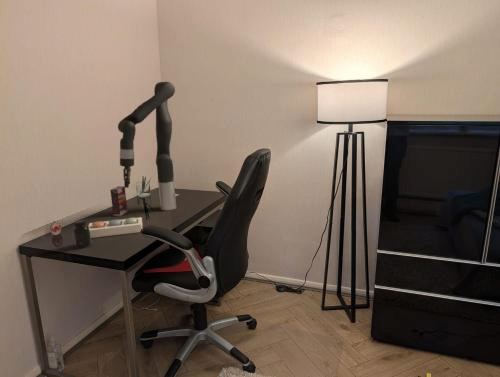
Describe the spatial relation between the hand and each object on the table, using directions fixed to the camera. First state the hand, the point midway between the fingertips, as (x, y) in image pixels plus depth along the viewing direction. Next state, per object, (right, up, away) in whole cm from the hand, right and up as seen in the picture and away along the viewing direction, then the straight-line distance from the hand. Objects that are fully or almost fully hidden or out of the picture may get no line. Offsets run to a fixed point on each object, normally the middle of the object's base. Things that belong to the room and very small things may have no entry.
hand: (127, 185), depth 199 cm
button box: (0, -24, -16) cm, 29 cm away
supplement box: (-8, -17, +13) cm, 23 cm away
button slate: (0, -21, -17) cm, 27 cm away
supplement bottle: (-9, -28, -34) cm, 45 cm away
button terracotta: (-8, -22, -19) cm, 30 cm away
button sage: (+7, -20, -15) cm, 26 cm away
